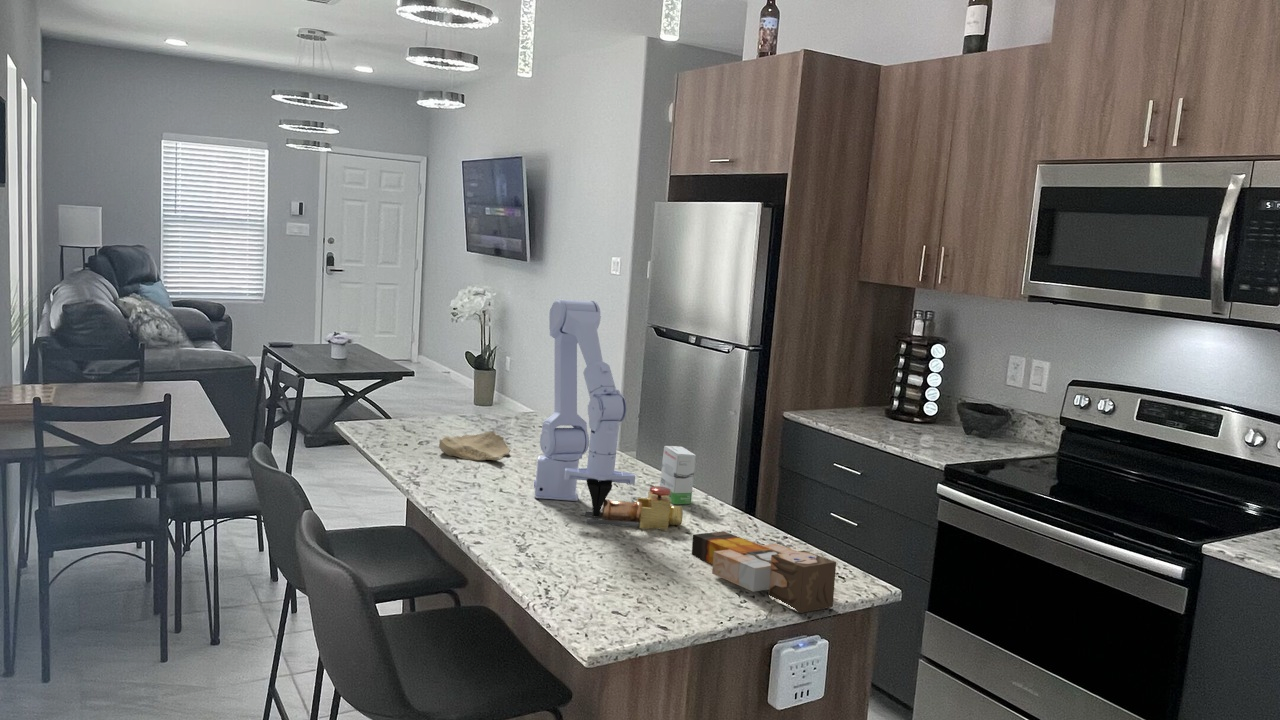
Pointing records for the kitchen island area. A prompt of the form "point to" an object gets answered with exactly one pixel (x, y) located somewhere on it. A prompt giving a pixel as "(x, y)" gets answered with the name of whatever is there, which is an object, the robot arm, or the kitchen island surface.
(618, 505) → the coupling
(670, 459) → the ink box
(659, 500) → the valve
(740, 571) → the toy
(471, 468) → the kitchen island surface
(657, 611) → the kitchen island surface
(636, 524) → the rails
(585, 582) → the kitchen island surface
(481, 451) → the rock
